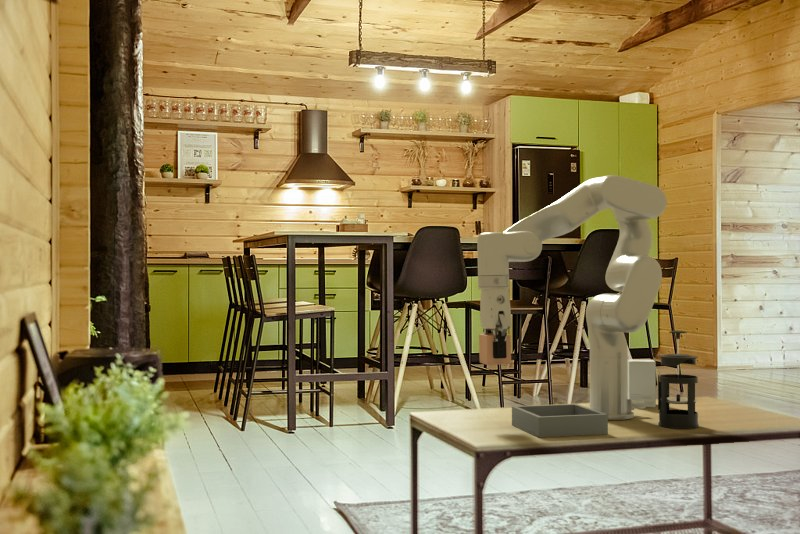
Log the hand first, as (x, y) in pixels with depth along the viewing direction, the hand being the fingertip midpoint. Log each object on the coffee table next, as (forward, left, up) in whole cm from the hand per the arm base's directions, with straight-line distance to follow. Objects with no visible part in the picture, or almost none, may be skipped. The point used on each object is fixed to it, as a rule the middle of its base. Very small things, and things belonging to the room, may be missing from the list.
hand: (495, 356), depth 216 cm
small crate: (0, 0, -2) cm, 2 cm away
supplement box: (-51, -21, -17) cm, 57 cm away
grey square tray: (-13, +9, -17) cm, 23 cm away
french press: (-43, +11, -17) cm, 47 cm away
